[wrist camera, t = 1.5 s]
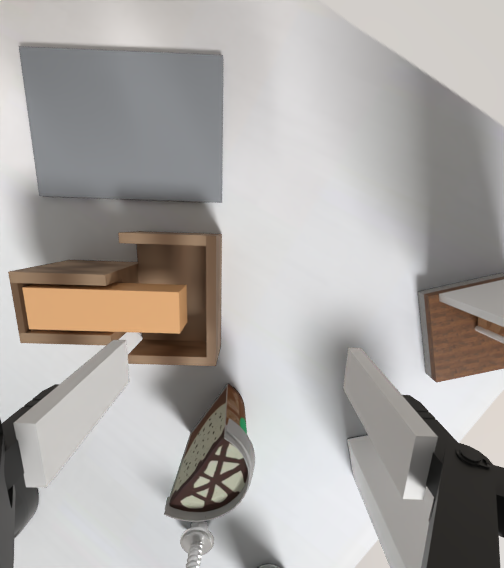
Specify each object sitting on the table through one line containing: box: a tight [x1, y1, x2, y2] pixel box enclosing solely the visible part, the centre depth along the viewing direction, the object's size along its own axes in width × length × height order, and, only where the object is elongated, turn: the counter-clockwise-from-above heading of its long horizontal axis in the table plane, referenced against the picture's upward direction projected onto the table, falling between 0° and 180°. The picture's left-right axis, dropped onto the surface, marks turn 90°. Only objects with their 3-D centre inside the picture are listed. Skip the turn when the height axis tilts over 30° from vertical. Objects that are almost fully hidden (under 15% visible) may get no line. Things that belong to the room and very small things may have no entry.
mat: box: [19, 46, 223, 203], centre depth 28 cm, size 20×14×1 cm
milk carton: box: [347, 435, 434, 568], centre depth 28 cm, size 7×7×19 cm
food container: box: [164, 384, 255, 522], centre depth 31 cm, size 12×6×10 cm, turn 145°
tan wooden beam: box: [22, 283, 187, 334], centre depth 26 cm, size 14×4×3 cm, turn 88°
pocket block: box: [8, 231, 222, 366], centre depth 28 cm, size 18×14×8 cm
